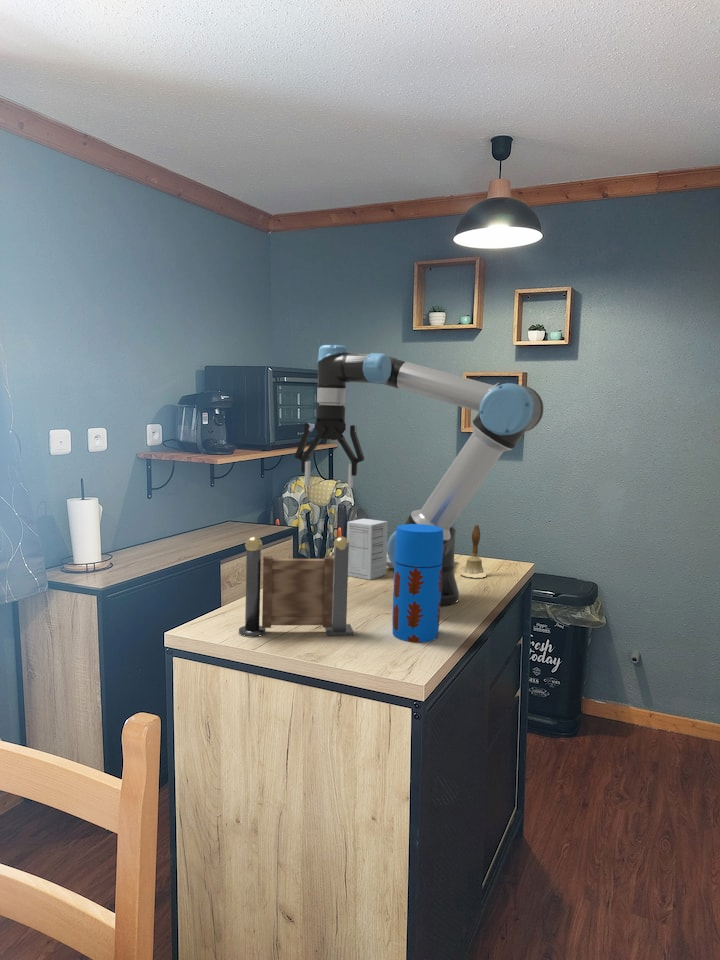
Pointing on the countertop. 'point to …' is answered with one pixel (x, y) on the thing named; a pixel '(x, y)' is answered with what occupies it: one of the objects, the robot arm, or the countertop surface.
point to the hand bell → (474, 555)
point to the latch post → (340, 590)
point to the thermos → (417, 582)
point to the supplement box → (367, 548)
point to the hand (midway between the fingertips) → (328, 486)
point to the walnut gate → (297, 591)
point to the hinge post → (252, 588)
